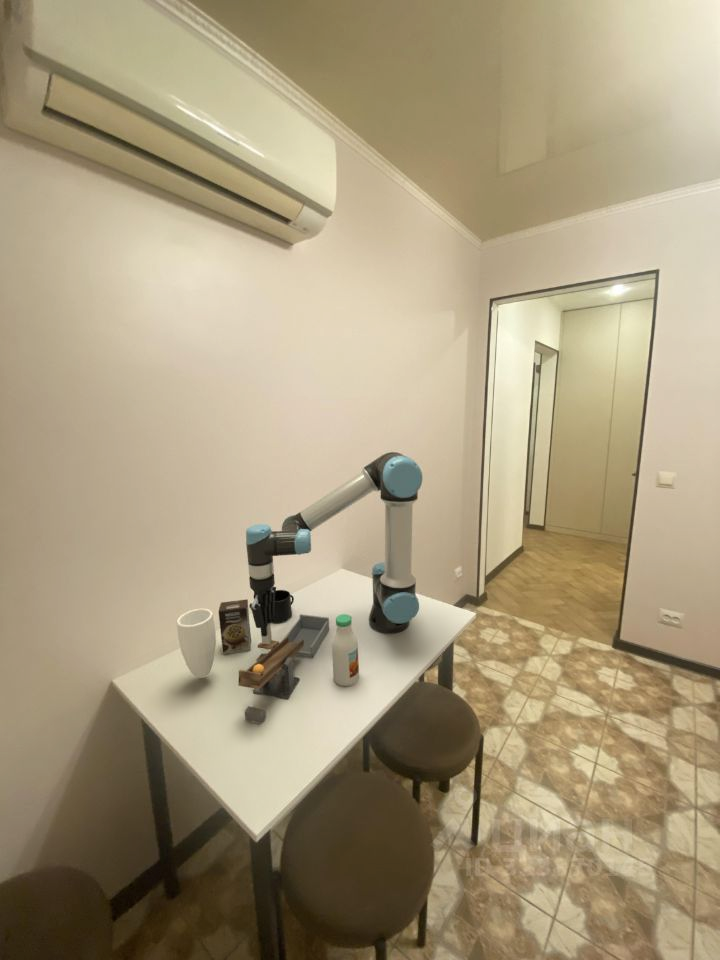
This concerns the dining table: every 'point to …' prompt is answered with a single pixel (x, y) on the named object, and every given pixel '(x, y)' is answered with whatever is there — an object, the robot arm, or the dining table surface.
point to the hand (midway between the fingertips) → (266, 642)
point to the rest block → (255, 714)
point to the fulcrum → (280, 682)
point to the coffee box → (235, 626)
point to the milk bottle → (345, 652)
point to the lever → (269, 662)
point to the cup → (197, 640)
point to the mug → (282, 606)
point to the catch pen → (309, 633)
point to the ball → (258, 669)
